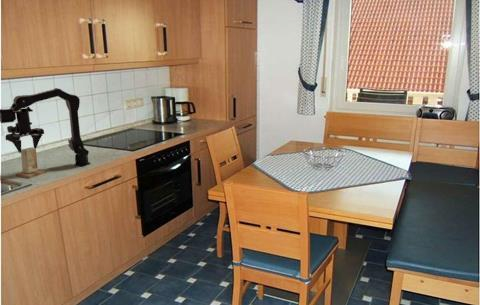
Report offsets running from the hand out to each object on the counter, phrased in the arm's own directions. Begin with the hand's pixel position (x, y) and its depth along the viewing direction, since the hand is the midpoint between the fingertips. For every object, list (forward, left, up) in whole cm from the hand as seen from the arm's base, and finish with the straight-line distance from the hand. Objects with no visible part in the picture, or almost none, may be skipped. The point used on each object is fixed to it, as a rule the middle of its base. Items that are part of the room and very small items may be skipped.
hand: (27, 150), depth 212 cm
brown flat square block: (0, 0, -14) cm, 14 cm away
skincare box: (0, 0, -12) cm, 12 cm away
